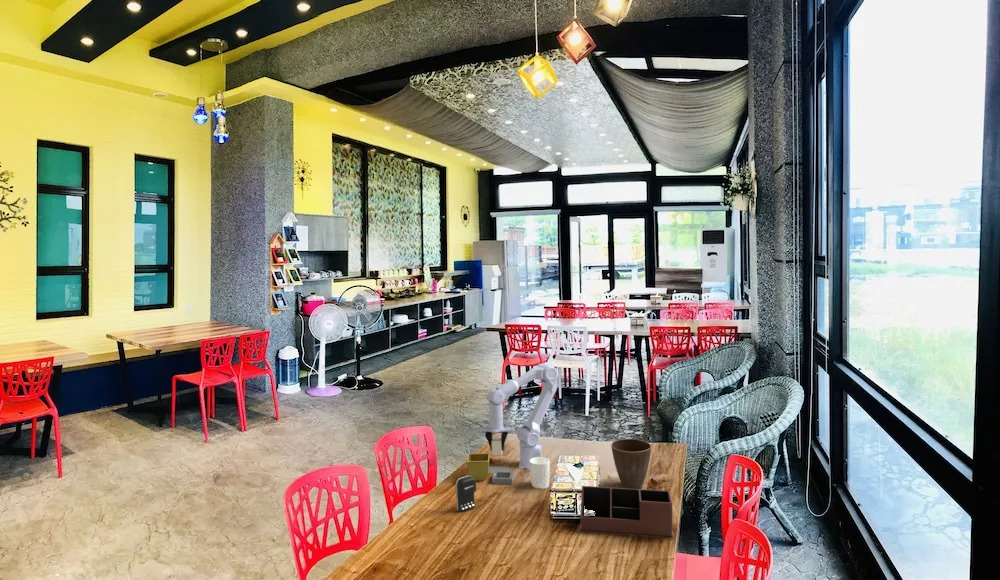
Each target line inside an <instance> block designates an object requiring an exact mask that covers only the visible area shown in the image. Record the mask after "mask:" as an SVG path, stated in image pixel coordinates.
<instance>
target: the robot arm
mask: <svg viewBox="0 0 1000 580" xmlns="http://www.w3.org/2000/svg"><path fill="white" fill-rule="evenodd" d="M559 375H560V374H559V372H558V369H556V367H555V366H552V365H548V364H546V363H538V364H537V365H535V366H533V367H532V368H531V369H530V370H528V371H527V372H525V373H524V374H522V375H521V376H519V377H518V378H516V379H506V380H505V382H503V383H502V384H500V385H496V388H491V389H489V390H488V392H487V394H486V396H485V397H486V399H487V401H488V414H489V417H488V419H489V426H485V427H484V426H483V427H479V429H478V433H479V434H484V437H485V439H486V440H487V442H488V445H489V448H490V452H492V439H493V434H501V435H500V438H501V440H502V451H503V452H504V450H505V443H506V441H507V437H508V434H515V427H510V426H504V411H503V408H504V407H503V403H504V402H505V399H507V398H508V397H510V396H512V395H514V394H515V393H517V392H518V391H519V389H520V388H521V387H522V386H524V385H526V384H528V383H529V382H531V381H533V380H540V381H541V384H542V387H543V388H542V390H541V392H540V394H539V396H538V399H537V400H536V403H535V405H534V407H533V410H532V411H531V414H530V415H529V417H528V420H525V422H523V424H522V426H521V427H519V429H518V430H517V432H516V437H517V439H518V440H519V464H518V469H519V468H522V469H524V468H527V469H530V459H532V458H535V457H543V455H542V453H543V451H542V449H543V448H542V444H538V443H539V441H540V440H539V439H540V435H541V428H540V427H541V423H542V421H543V419H544V417H545V416H546V413H547V411H548V409H549V406H550V405H551V403H552V401H553V399H554V396H555V393H556V392H557V390H558V378H559Z"/></svg>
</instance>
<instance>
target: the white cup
mask: <svg viewBox="0 0 1000 580" xmlns="http://www.w3.org/2000/svg"><path fill="white" fill-rule="evenodd" d="M550 471H551V459H549V458H548V457H544V456H542V457H535V458H532V459H530V468H529V472H530V481H531V483H530V484H531V486H532V487H533V488H536V489H548V488H549V487H550V478H551V477H550V474H551V473H550Z"/></svg>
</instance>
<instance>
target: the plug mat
mask: <svg viewBox="0 0 1000 580" xmlns="http://www.w3.org/2000/svg"><path fill="white" fill-rule="evenodd" d="M509 470H510V466H503V465H502V466H501V465H500V466H490V465H489V469H488V474H494V471H509Z"/></svg>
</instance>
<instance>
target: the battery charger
mask: <svg viewBox="0 0 1000 580" xmlns="http://www.w3.org/2000/svg"><path fill="white" fill-rule="evenodd" d="M475 492H477V481H475V479H474V478H473V477H472V476H470V475H469V474H468V475H465V476H462V477H461V476H460V477H459V478H457V479H456V480H455V498H456V511H458V512H463V513H464V512H467V511H470V510H473V509H475V508H476V502H475V501H476V500H475Z"/></svg>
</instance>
